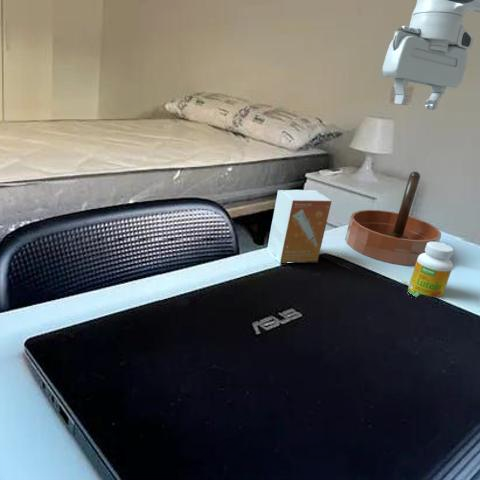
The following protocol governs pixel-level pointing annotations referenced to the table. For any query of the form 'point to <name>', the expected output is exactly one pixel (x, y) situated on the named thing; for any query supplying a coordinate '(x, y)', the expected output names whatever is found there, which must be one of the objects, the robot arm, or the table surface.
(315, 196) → the small box
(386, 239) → the bowl
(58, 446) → the table surface
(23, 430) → the table surface
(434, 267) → the supplement bottle
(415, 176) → the dark brown wooden dowel
